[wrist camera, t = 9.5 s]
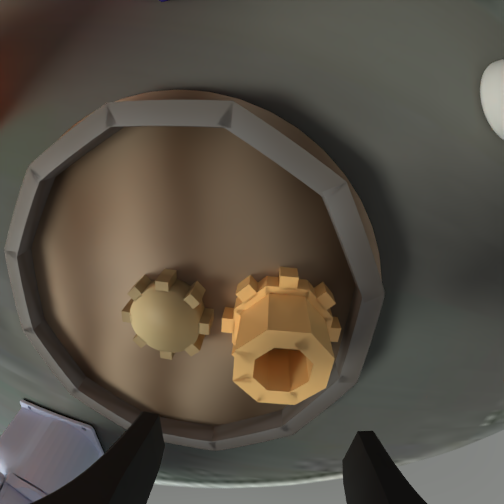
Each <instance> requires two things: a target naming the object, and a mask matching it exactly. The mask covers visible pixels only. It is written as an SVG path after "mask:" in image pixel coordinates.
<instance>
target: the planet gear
mask: <svg viewBox="0 0 504 504" xmlns="http://www.w3.org/2000/svg"><path fill="white" fill-rule="evenodd" d="M236 296H237V298H236V302H235V307H234V308H230V307H225V309H224V312H223V316H222V328H221V332H226V333H232V343H233V348H232V354H231V355H232V356H233V357H234V368H233V382H234V383H236V384H237V385H238V386H239V387H240V388H241V389H243V390H244V391H245V392H246V393H247V394H248V395H250V396H251V397H252V398H253V399H254V400H256V401H257V402H261V403H274V404H289V405H295V404H297V403H299V402H301V401H303V400H305V399H307V398H309V397H311V396H312V395H314V394H316V393H318V392H320V391H321V390H323V389H325V388H326V386H327V383H328V380H329V376H330V373H331V370H332V366H333V363H334V359H335V358H334V354H333V350H332V345H331V342H338V340H339V336H340V332H341V326H340V323H339V319H338V317H333V316H332V313H331V309H330V307H332V306H333V305H335V304H336V302H335V299H334V296H333V294H332V292H331V291H330V290H329V288H328V287H327V286H326V285H325V283H324V282H322V283H320V284H319V285H318V286H316V287H315V288H314V287H313V286H312V285H311V284H310V282H309V281H308V280H305V279H299V276H298V270H297V268H289V267H280V272H279V277H273V276H266V277H265V278H263V279H262V280H261V281H259V282H257V281H256V280H255V279H254V278H253V277H252V276H251V275H249V276H248V277H247V278H245V279H244V280H243V281H241V282H240V283H239V284H238V285H237V290H236Z"/></svg>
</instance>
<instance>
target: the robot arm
mask: <svg viewBox="0 0 504 504" xmlns="http://www.w3.org/2000/svg"><path fill="white" fill-rule="evenodd" d="M20 404H21V406H22V408H21V409H20V411H19V412H18V413H17V415H16V416H15V417H14V419H13V420H12V421H11V423H10V424H9V426H8V427H7V428H6V430H5V431H4V433H3V434H2V435H1V437H0V504H146V503H147V500H148V498H149V495H150V492H151V490H152V487H153V484H154V482H155V479H156V476H157V474H158V471H159V468H160V464H161V460H162V455H163V451H164V446H165V444H164V439H163V433H162V428H161V422H160V415H159V414H155V413H150V412H145V411H143V412H141V413H140V415H139V416H138V417H137V418H136V420H135V421H134V422H133V423H132V424H131V426H130V427H129V428H128V429H127V430H126V431H125V433H124V434H123V435H122V436H121V437H120V438H119V439H118V440H117V441H116V442H115V443H114V444H113V445H112V446H111V447H110V448H109V450H108V451H106V452H105V453H104V452H103V450H102V447H101V445H100V443H99V440H98V438H97V435H96V433H95V430H94V428H93V427H92V426H90V425H88V424H85V423H82V422H79V421H76V420H73V419H70V418H67V417H65V416H62V415H59V414H57V413H54V412H51V411H49V410H46V409H44V408H41V407H39V406H37V405H34V404H32V403H29V402H27V401H25V400H21V401H20ZM343 484H344V489H345V495H346V501H347V504H427V503H426V502H425V501H424V500H423V499H422V498H421V497H420V496H419V494H418V493H417V492H416V491H415V490H414V488H413V487H412V486H411V485H410V484H409V482H408V481H407V480H406V479H405V477H404V476H403V475H402V473H401V472H400V470H399V469H398V468H397V466H396V465H395V463H394V462H393V461H392V459H391V458H390V456H389V455H388V453H387V452H386V450H385V449H384V447H383V445H382V444H381V442H380V441H379V439H378V438H377V436H376V435H375V433H374V432H373V431H358V432H357V434H356V436H355V438H354V440H353V442H352V444H351V446H350V448H349V449H348V451H347V453H346V455H345V457H344V459H343Z"/></svg>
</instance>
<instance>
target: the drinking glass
mask: <svg viewBox="0 0 504 504" xmlns="http://www.w3.org/2000/svg"><path fill="white" fill-rule="evenodd" d="M480 99H481V104H482V108H483V112H484V114H485V117H486V119H487V121H488V123H489V124H490V126H491V128H492V129H493V130H494V132H495V133H496V134H497V135H498V136H499V137H500V138H502V139H503V140H504V59H501V60H497V61H495V62H493V63H491V64H490V65H489V66H488V67H487V68H486V69H485V71H484V73H483V75H482V78H481V83H480Z"/></svg>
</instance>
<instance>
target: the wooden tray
mask: <svg viewBox="0 0 504 504" xmlns="http://www.w3.org/2000/svg"><path fill="white" fill-rule="evenodd" d="M4 251H5V257H6V263H7V268H8V273H9V278H10V283H11V287H12V292H13V296H14V300H15V304H16V308H17V312H18V316H19V319H20V323H21V326H22V330H23V332H24V333H25V335H26V336H27V338H28V339H29V340H30V342H31V343H32V345H33V346H34V348H35V349H36V350H37V352H38V353H39V355H40V356H41V357H42V359H43V360H44V361H45V363H46V364H47V365H48V367H49V368H50V369H51V371H52V372H53V373H54V374H55V376H56V377H57V378H58V380H59V381H60V382H61V383H62V384H63V386H64V387H65V388H66V389H67V391H68V392H69V393H70V394H71V395H72V396H74V397H75V398H77V399H78V400H80V401H81V402H82V403H84V404H85V405H87V406H89V407H90V408H92V409H93V410H95V411H96V412H98V413H99V414H101V415H103V416H104V417H106V418H108V419H109V420H111V421H112V422H114V423H116V424H118V425H119V426H121V427H123V428H124V429H126V430H127V429H128V428H129V427H130V426H131V424H132V423H133V422H134V421H135V420H136V418H137V417H138V416H139V415H140V413H141V412H143V411H145V412H150V413H155V414H159V415H160V422H161V428H162V433H163V439H164V442H166V443H171V444H176V445H181V446H187V447H193V448H199V449H205V450H212V451H219V450H225V449H231V448H236V447H241V446H246V445H251V444H256V443H261V442H265V441H269V440H274V439H278V438H282V437H286V436H290V435H293V434H295V433H296V432H297V431H299V430H300V429H301V428H303V427H304V426H305V425H307V424H308V423H309V422H311V421H312V420H313V419H314V418H316V417H317V416H318V415H319V414H321V413H322V412H323V411H324V410H326V409H327V408H328V407H329V406H331V405H332V404H333V403H334V402H335V401H337V400H338V399H339V398H340V397H341V396H342V395H344V394H345V393H346V392H347V391H348V390H349V389H351V388H352V387H353V386H354V385H355V384H356V383H357V381H358V379H359V376H360V373H361V370H362V367H363V365H364V362H365V359H366V356H367V353H368V350H369V347H370V344H371V341H372V337H373V334H374V331H375V328H376V324H377V321H378V318H379V314H380V311H381V307H382V304H383V300H384V297H385V291H384V288H383V285H382V277H381V266H380V256H379V251H378V247H377V243H376V239H375V235H374V231H373V227H372V225H371V222H370V220H369V218H368V215H367V213H366V211H365V208H364V206H363V204H362V202H361V199H360V198H359V196H358V195H357V193H356V191H355V190H354V188H353V187H352V185H351V184H350V182H349V180H348V179H347V177H346V176H345V174H344V173H343V172H342V171H341V169H340V168H339V167H338V166H337V165H336V164H335V162H334V161H333V160H332V159H331V158H330V157H329V156H328V155H327V153H326V152H325V151H324V150H323V149H322V148H321V147H319V146H318V145H317V144H316V143H315V142H314V141H312V140H311V139H310V138H309V137H308V136H306V135H305V134H304V133H303V132H302V131H300V130H299V129H298V128H296V127H295V126H293V125H291V124H290V123H288V122H287V121H285V120H283V119H282V118H280V117H278V116H277V115H275V114H273V113H271V112H270V111H267V110H265V109H263V108H260V107H258V106H255V105H253V104H251V103H248V102H246V101H243V100H240V99H237V98H233V97H229V96H225V95H220V94H216V93H212V92H206V91H193V90H166V91H155V92H147V93H143V94H139V95H135V96H131V97H127V98H124V99H120V100H118V101H116V102H108V103H106V104H104V105H103V106H101V107H100V108H99V109H97V110H96V111H94V112H93V113H91V114H90V115H88V116H86V117H85V118H83V119H82V120H80V121H79V122H77V123H76V124H75V125H73V126H72V127H71V128H70V129H69V130H68V131H67V132H66V133H65V134H64V135H62V136H61V137H60V138H59V139H58V140H57V141H56V142H55V143H54V144H53V145H51V146H50V147H49V148H48V149H47V150H46V151H44V152H43V153H42V154H41V155H40V156H39V157H38V158H37V159H35V160H34V161H33V162H32V163H31V164H30V165H29V166H28V168H27V171H26V174H25V177H24V180H23V183H22V186H21V189H20V192H19V196H18V199H17V202H16V206H15V209H14V213H13V216H12V220H11V224H10V228H9V232H8V236H7V240H6V245H5V249H4ZM280 267H289V268H297V270H298V276H299V279H305V280H308V281H309V282H310V284H311V285H312V286H313V287H314V288H315V287H316V286H318V285H319V284H320V283H322V282H324V283H325V285H326V286H327V287H328V288H329V290H330V291H331V292H332V294H333V296H334V299H335V302H336V304H335V305H333V306H332V307H330V309H331V313H332V316H333V317H338V319H339V323H340V326H341V332H340V336H339V340H338V342H331V345H332V350H333V354H334V358H335V359H334V363H333V366H332V370H331V373H330V376H329V380H328V383H327V386H326V388H325V389H323V390H321V391H320V392H318V393H316V394H314V395H312V396H311V397H309V398H307V399H305V400H303V401H301V402H299V403H297V404H295V405H289V404H274V403H261V402H257V401H256V400H254V399H253V398H252V397H251V396H250V395H248V394H247V393H246V392H245V391H244V390H243V389H241V388H240V387H239V386H238V385H237V384H236V383H234V382H233V368H234V357H233V356H232V355H231V354H232V348H233V343H232V333H226V332H221V328H222V316H223V312H224V309H225V307H230V308H234V307H235V302H236V298H237V296H236V290H237V285H238V284H239V283H240V282H241V281H243V280H244V279H245V278H247V277H248V276H249V275H251V276H252V277H253V278H254V279H255V280H256V281H257V282H259V281H261V280H262V279H263V278H265V277H266V276H273V277H279V272H280Z"/></svg>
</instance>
